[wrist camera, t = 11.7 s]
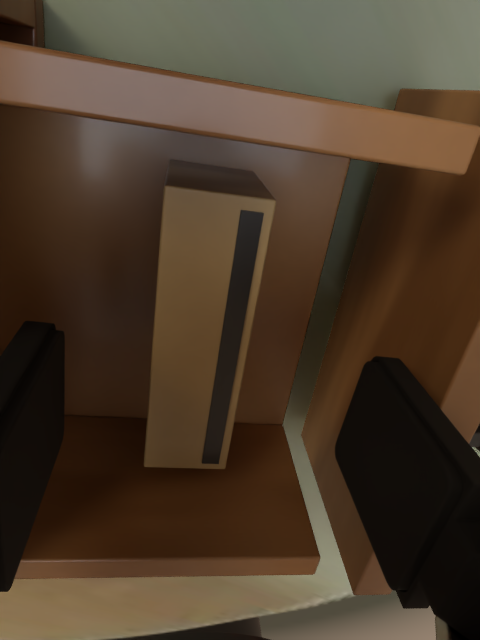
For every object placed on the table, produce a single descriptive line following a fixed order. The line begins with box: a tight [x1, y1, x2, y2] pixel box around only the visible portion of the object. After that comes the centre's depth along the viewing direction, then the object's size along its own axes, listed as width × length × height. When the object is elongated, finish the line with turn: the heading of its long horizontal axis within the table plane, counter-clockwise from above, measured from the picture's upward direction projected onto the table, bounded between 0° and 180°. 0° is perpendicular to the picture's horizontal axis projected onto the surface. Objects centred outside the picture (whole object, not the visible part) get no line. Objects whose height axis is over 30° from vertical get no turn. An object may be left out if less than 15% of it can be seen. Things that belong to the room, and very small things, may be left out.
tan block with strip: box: [144, 160, 276, 469], centre depth 12 cm, size 2×8×4 cm, turn 171°
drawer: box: [0, 40, 480, 595], centre depth 12 cm, size 18×13×7 cm
